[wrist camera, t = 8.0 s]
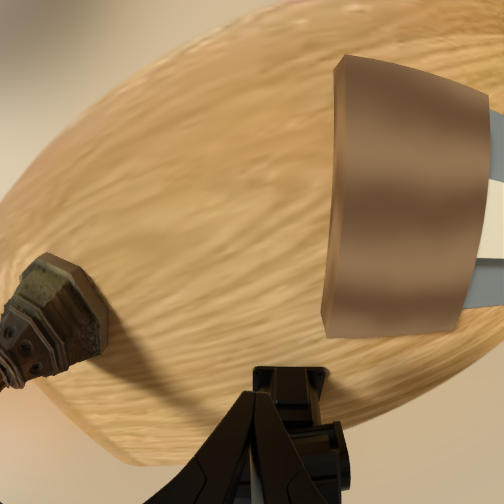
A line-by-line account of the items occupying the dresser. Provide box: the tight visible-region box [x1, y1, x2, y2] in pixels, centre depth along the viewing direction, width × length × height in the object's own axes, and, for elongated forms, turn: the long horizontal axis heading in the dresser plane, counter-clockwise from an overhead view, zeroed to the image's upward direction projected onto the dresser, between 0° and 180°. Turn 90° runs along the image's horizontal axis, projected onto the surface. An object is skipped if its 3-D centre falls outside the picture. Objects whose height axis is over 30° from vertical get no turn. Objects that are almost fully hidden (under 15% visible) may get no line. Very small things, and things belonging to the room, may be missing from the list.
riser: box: [321, 55, 490, 338], centre depth 17 cm, size 18×11×4 cm, turn 0°
